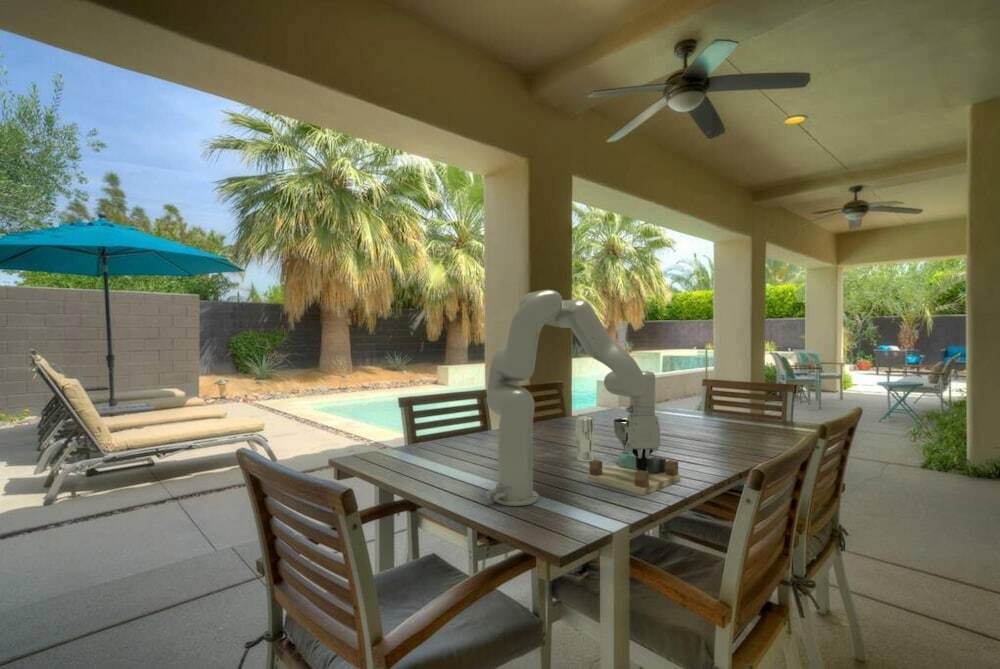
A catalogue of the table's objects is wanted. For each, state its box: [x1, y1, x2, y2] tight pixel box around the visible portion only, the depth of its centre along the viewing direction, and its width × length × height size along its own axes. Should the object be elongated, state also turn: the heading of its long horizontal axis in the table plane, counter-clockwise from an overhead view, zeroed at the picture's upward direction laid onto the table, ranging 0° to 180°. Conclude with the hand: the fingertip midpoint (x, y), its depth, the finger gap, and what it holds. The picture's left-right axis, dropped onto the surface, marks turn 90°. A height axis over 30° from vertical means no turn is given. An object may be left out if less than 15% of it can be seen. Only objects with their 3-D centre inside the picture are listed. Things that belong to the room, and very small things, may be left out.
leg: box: [618, 450, 660, 474], centre depth 164 cm, size 14×4×5 cm, turn 42°
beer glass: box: [574, 416, 596, 463], centre depth 185 cm, size 7×7×15 cm
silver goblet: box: [612, 418, 627, 465], centre depth 179 cm, size 8×8×15 cm
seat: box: [587, 456, 681, 496], centre depth 158 cm, size 20×20×6 cm
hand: (641, 470), depth 158 cm, fingers closed
